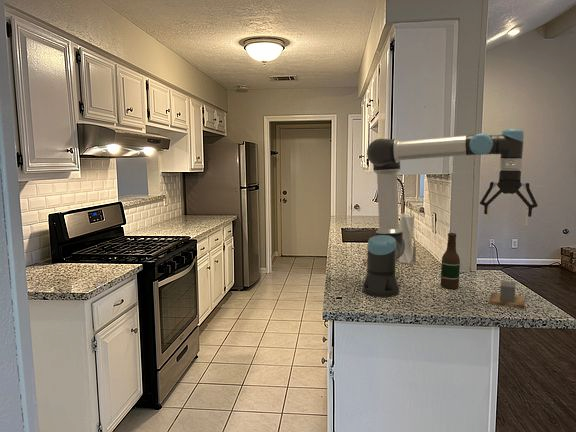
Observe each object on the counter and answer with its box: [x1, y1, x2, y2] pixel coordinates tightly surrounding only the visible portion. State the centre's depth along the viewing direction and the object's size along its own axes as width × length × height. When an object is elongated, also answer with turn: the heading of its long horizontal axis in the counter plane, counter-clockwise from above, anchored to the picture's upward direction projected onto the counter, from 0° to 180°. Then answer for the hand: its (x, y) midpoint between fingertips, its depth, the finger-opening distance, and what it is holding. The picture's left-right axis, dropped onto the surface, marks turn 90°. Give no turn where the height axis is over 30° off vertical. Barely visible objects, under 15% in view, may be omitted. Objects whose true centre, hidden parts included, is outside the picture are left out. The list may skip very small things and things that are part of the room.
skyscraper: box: [398, 211, 417, 265], centre depth 234 cm, size 8×8×28 cm
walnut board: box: [488, 291, 525, 309], centre depth 173 cm, size 12×12×1 cm
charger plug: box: [500, 280, 516, 303], centre depth 173 cm, size 5×10×6 cm, turn 152°
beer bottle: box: [440, 232, 461, 290], centre depth 191 cm, size 8×8×24 cm
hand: (506, 223), depth 172 cm, fingers open, 13 cm apart
